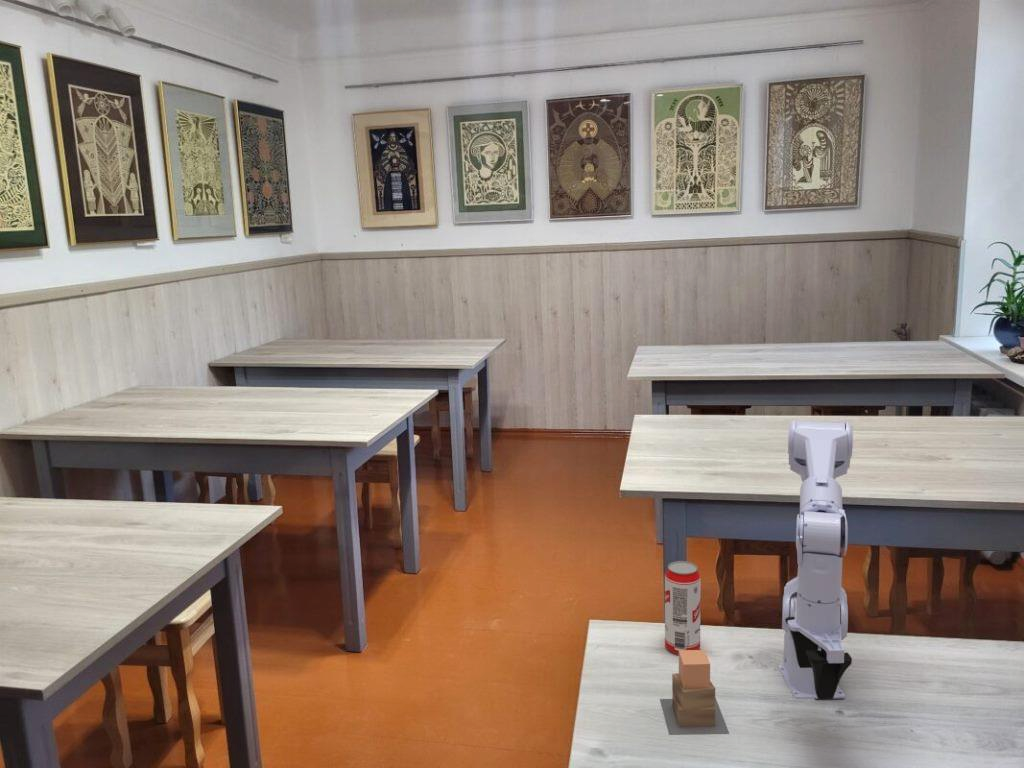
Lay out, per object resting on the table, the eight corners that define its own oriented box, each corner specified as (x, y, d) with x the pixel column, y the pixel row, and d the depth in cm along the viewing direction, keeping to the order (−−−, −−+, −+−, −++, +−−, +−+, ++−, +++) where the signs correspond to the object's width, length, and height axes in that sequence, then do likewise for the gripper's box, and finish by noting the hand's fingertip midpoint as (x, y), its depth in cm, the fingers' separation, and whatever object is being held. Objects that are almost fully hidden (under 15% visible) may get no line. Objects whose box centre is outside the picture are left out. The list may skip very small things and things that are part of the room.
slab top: (672, 691, 123) (672, 673, 122) (702, 687, 124) (702, 670, 123) (683, 710, 118) (683, 692, 117) (715, 705, 119) (715, 688, 118)
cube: (678, 673, 122) (678, 650, 121) (704, 673, 122) (704, 649, 121) (683, 688, 118) (683, 664, 118) (709, 687, 118) (710, 664, 117)
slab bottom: (672, 705, 124) (672, 688, 124) (707, 704, 124) (707, 687, 123) (678, 727, 119) (678, 709, 118) (714, 726, 119) (715, 708, 118)
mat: (659, 701, 126) (659, 698, 126) (715, 700, 126) (715, 697, 126) (669, 736, 117) (669, 734, 117) (729, 735, 117) (729, 733, 117)
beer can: (662, 656, 139) (662, 572, 136) (666, 638, 145) (666, 558, 142) (698, 660, 137) (699, 576, 134) (701, 642, 143) (702, 561, 140)
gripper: (774, 572, 116) (772, 654, 119) (807, 620, 102) (804, 712, 105) (822, 571, 116) (818, 653, 119) (862, 619, 102) (857, 711, 105)
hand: (815, 681), depth 112 cm, fingers open, 7 cm apart
